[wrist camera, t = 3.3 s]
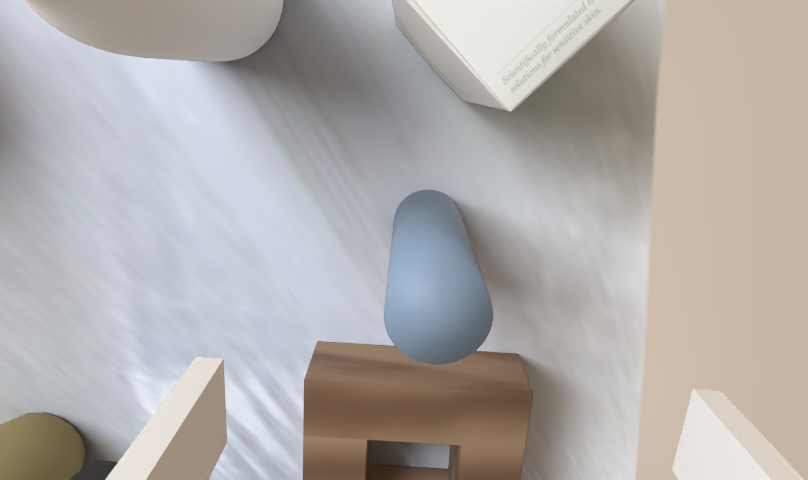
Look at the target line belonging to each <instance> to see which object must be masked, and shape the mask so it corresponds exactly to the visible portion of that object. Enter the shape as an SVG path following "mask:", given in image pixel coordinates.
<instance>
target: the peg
mask: <svg viewBox="0 0 808 480" xmlns="http://www.w3.org/2000/svg"><path fill="white" fill-rule="evenodd" d="M492 320H493V309H492V303H491V299H490V297H489V294H488V291H487V288H486V285H485V282H484V279H483V277H482V274H481V271H480V268H479V265H478V262H477V259H476V257H475V254H474V251H473V248H472V245H471V242H470V239H469V236H468V234H467V231H466V228H465V225H464V222H463V219H462V216H461V214H460V211H459V209H458V207H457V205H456V204H455V202H454V201H453V200H452V199H451V198H450V197H448V196H447V195H445V194H443V193H441V192H438V191H434V190H423V191H418V192H415V193H413V194H411V195H409V196H408V197H406V198H405V199H404V200H403V201H402V202H401V204H400V205H399V207H398V208H397V210H396V213H395V217H394V225H393V234H392V243H391V253H390V262H389V271H388V281H387V290H386V299H385V308H384V322H385V327H386V330H387V333H388V335H389V337H390V339H391V340H392V342H393V343H394V345H395V346H396V347H397V348H398V349H399V350H400V351H401V352H402V353H404V354H405V355H407V356H408V357H410V358H412V359H414V360H417V361H419V362H423V363H427V364H448V363H453V362H456V361H459V360H462V359H464V358H466V357H467V356H469V355H470V354H472V353H473V352H474V351H476V350H477V349H478V348H479V347H480V346H481V345H482V343H483V342H484V341H485V339H486V338H487V336H488V334H489V331H490V328H491V325H492Z"/></svg>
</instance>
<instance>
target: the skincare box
mask: <svg viewBox="0 0 808 480" xmlns="http://www.w3.org/2000/svg"><path fill="white" fill-rule="evenodd" d="M633 1H634V0H392V3H393V9H394V14H395V21H396V25H397V27H398V28H399V29H400V30H401V32H402V33H403V34H404V35H405V36H406V38H407V39H408V40H409V41H410V42H411V43H412V45H413V46H414V47H415V48H416V49H417V51H418V52H419V53H420V54H421V55H422V56H423V58H424V59H425V60H426V61H427V62H428V63H429V64H430V66H431V67H432V68H433V69H434V70H435V71H436V72H437V73H438V74H439V76H440V77H441V78H442V79H443V80H444V81H445V82H446V83H447V84H448V85H449V87H450V88H451V89H452V90H453V91H454V92H455V93H456V94H457V95H458V96H459V98H460V99H461V100H462V101H466V102H471V103H475V104H480V105H484V106H488V107H492V108H497V109H502V110H506V111H509V112H512V111H513V110H514V109H515V108H517V107H518V106H519V105H520V104H521V103H522V102H523V101H524V100H525V99H526V98H528V97H529V96H530V95H531V94H532V93H533V92H534V91H535V90H537V89H538V88H539V87H540V86H541V85H542V84H543V83H544V82H545V81H547V80H548V79H549V78H550V77H551V76H552V75H553V74H554V73H555V72H556V71H558V70H559V69H560V68H561V67H562V66H563V65H564V64H565V63H566V62H568V61H569V60H570V59H571V58H572V57H573V56H574V55H575V54H576V53H577V52H579V51H580V50H581V49H582V48H583V47H584V46H585V45H586V44H587V43H588V42H589V41H591V40H592V39H593V38H594V37H595V36H596V35H597V34H598V33H599V32H600V31H602V30H603V29H604V28H605V27H606V26H607V25H608V24H609V23H610V22H612V21H613V20H614V19H615V18H616V17H617V16H618V15H619V14H620V13H621V12H622V11H623V10H625V9H626V8H627V7H628V6H629V5H630V4H631V3H632V2H633Z"/></svg>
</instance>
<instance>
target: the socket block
mask: <svg viewBox="0 0 808 480" xmlns="http://www.w3.org/2000/svg"><path fill="white" fill-rule="evenodd" d="M532 399H533V392H532V390H531V387H530V385H529V382H528V379H527V377H526V374H525V371H524V369H523V366H522V363H521V361H520V358H519V355H518V354H512V353H496V352H480V351H474V352H473V353H472V354H470V355H469V356H467V357H466V358H464V359H462V360H459V361H456V362H453V363H448V364H427V363H423V362H419V361H417V360H414V359H412V358H410V357H408V356H407V355H405V354H404V353H402V352H401V351H400V350H399V349H398V348H397V347H396V346H384V345H368V344H352V343H337V342H321V341H317V344H316V347H315V350H314V353H313V356H312V359H311V362H310V365H309V368H308V370H307V373H306V376H305V379H304V439H303V480H520V477H521V471H522V464H523V458H524V451H525V445H526V438H527V432H528V425H529V419H530V412H531V406H532ZM370 440H379V441H396V442H412V443H428V444H445V445H451V447H450V456H449V466H448V469H439V468H422V467H406V466H389V465H373V464H368V463H369V445H370Z"/></svg>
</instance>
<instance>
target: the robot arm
mask: <svg viewBox="0 0 808 480" xmlns="http://www.w3.org/2000/svg"><path fill="white" fill-rule="evenodd" d="M226 443H227V430H226V407H225V383H224V359H220V358H205V357H196V358H195V359H194V360H193V362H192V363H191V364H190V366H189V367H188V368H187V370H186V371H185V372H184V374H183V375H182V376H181V378H180V379H179V381H178V382H177V383H176V385H175V386H174V387H173V389H172V390H171V391H170V393H169V394H168V395H167V397H166V398H165V399H164V401H163V402H162V404H161V405H160V406H159V408H158V409H157V410H156V412H155V413H154V414H153V416H152V417H151V418H150V420H149V421H148V422H147V424H146V425H145V427H144V428H143V429H142V431H141V432H140V433H139V435H138V436H137V437H136V439H135V440H134V441H133V443H132V444H131V446H130V447H129V448H128V450H127V451H126V452H125V454H124V455H123V456H122V458H121V459H120V460H119V462H111V461H96V460H95V461H94V462H92V463H91V464H89V465H88V466H86V467H85V468H84V469H82V470H81V471H79V472H78V473H76V474H75V475H74V476H72V477H71V479H70V480H208V479H209V477H210V475H211V473H212V471H213V469H214V467H215V465H216V463H217V461H218V459H219V457H220V455H221V453H222V451H223V449H224V447H225V445H226ZM672 471H673V472H674V474H675V475H676V477H677V479H678V480H804V479H803V478H802V477H801V476H800V475H799V474H798V473H797V472H796V470H795V469H793V467H792V466H791V465H790V464H789V463H788V462H787V461H786V460H785V459H784V458H783V457H782V456H781V455H780V454H779V453H778V451H777V450H776V449H775V448H774V447H773V446H772V445H771V444H770V443H769V442H768V441H767V440H766V439H765V438H764V436H763V435H762V434H761V433H760V432H759V431H758V430H757V429H756V428H755V427H754V426H753V425H752V424H751V423H750V422H749V421H748V419H746V417H745V416H744V415H743V414H742V413H741V412H740V411H739V410H738V409H737V408H736V407H735V406H734V405H733V404H732V403H731V401H730V400H729V399H728V398H727V397H726V396H725V395H724V394H723V393H722V392H721V391H719V390H704V389H693V391H692V395H691V399H690V403H689V407H688V410H687V414H686V418H685V422H684V426H683V429H682V433H681V437H680V441H679V445H678V449H677V453H676V456H675V460H674V464H673V468H672Z"/></svg>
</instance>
